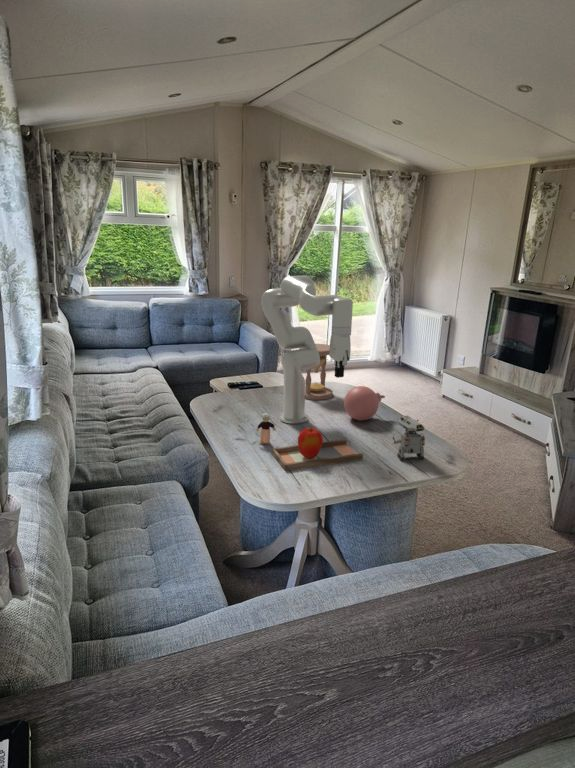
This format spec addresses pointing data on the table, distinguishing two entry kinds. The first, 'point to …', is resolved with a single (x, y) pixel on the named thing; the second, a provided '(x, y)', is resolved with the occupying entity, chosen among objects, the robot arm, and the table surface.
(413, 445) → the figurine
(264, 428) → the grandmother figurine
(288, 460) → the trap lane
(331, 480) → the table surface
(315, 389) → the hourglass
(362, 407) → the balloon
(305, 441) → the apple
